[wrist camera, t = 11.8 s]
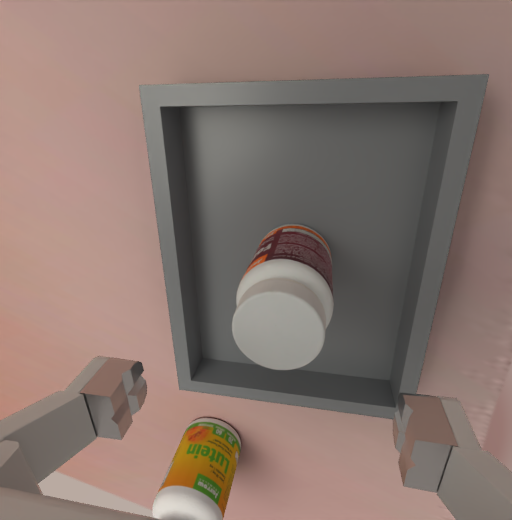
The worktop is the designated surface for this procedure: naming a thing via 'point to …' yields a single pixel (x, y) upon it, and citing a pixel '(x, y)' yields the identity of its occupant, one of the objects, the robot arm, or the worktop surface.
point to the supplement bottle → (200, 473)
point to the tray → (311, 221)
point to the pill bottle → (285, 299)
